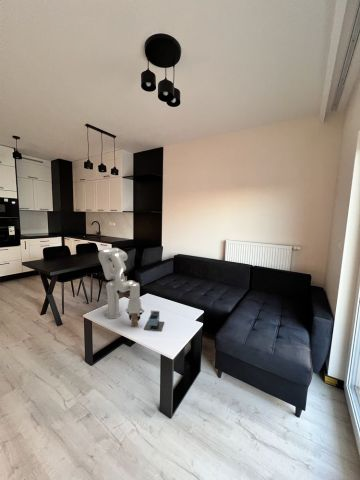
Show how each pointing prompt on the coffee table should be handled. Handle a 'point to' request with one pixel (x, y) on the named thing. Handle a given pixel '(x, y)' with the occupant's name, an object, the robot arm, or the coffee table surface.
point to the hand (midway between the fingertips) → (134, 319)
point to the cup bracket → (154, 322)
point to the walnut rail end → (134, 319)
